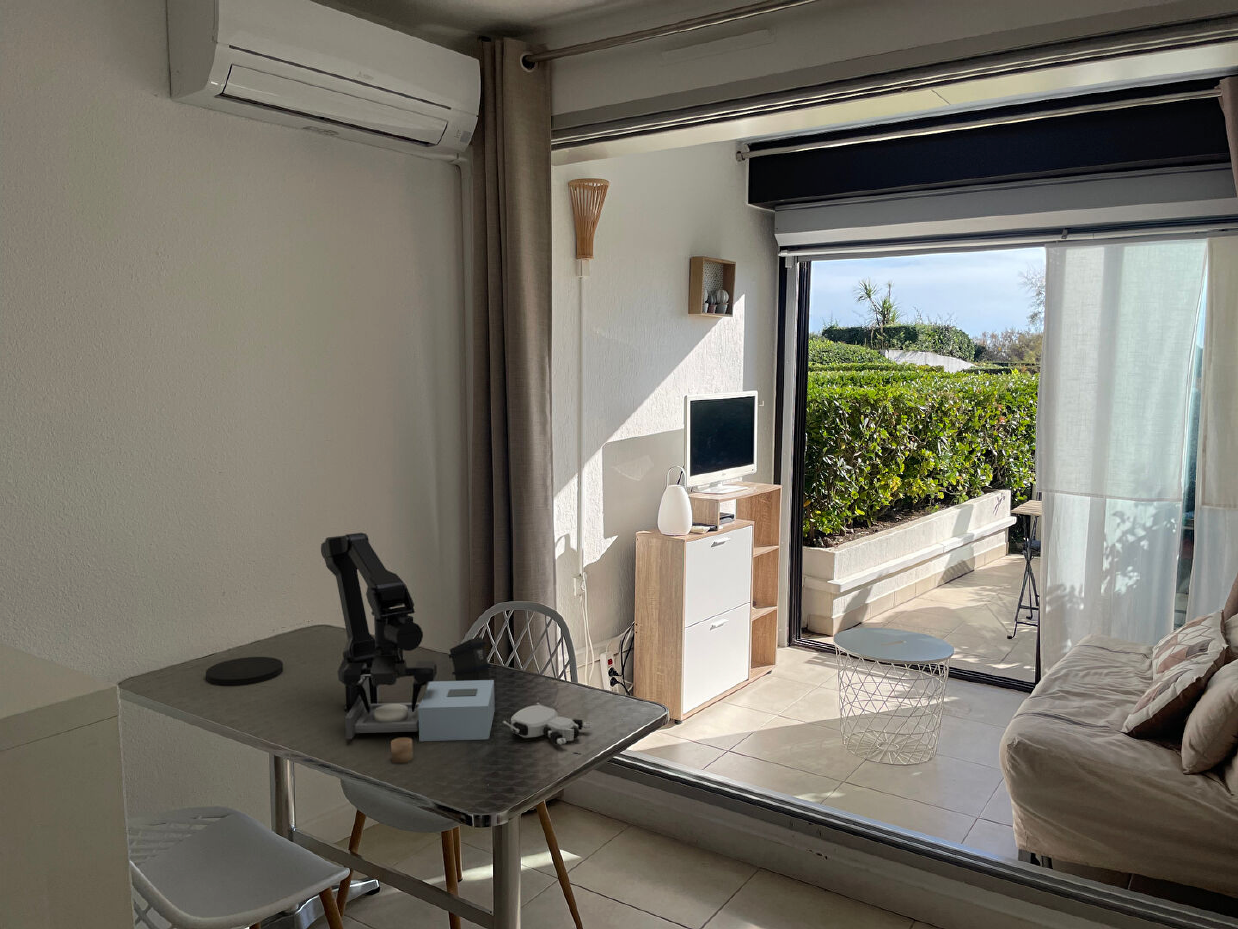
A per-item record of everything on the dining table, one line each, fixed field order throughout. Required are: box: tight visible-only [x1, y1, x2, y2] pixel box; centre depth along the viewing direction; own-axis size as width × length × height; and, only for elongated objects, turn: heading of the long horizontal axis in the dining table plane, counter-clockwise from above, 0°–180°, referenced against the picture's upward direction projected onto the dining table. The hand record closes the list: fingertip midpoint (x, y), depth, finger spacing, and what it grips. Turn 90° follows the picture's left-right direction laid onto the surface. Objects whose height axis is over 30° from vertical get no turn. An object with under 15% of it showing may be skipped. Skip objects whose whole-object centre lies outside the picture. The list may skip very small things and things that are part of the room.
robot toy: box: [502, 702, 591, 745], centre depth 191 cm, size 12×4×15 cm
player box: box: [418, 679, 496, 742], centre depth 196 cm, size 14×16×7 cm
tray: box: [344, 695, 421, 740], centre depth 195 cm, size 14×17×4 cm
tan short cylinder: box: [390, 736, 414, 764], centre depth 179 cm, size 4×4×4 cm
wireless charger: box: [205, 656, 284, 687], centre depth 231 cm, size 18×18×2 cm
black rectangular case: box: [448, 636, 492, 681], centre depth 211 cm, size 4×13×15 cm, turn 40°
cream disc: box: [374, 704, 408, 723], centre depth 195 cm, size 7×7×2 cm
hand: (391, 711), depth 195 cm, fingers open, 9 cm apart
